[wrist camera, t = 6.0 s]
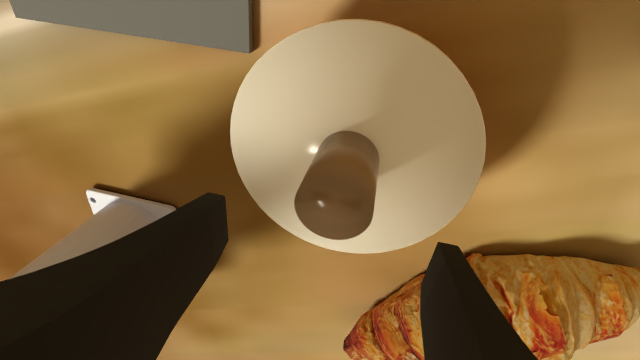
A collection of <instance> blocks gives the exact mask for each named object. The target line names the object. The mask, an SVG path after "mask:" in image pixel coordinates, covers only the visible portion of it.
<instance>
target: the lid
mask: <svg viewBox="0 0 640 360" xmlns="http://www.w3.org/2000/svg"><path fill="white" fill-rule="evenodd" d="M230 138H231V148H232V153H233V158H234V162H235V164H236V167H237V170H238V173H239V175H240V177H241V179H242V182H243V184H244V186H245V187H246V189H247V190H248V192H249V194H250V195H251V197H252V198H253V199H254V201H255V202H256V203H257V204H258V206H259V207H260V208H261V209H262V210H263V211H264V212H265V213H266V214H267V215H268V216H269V217H270V218H271V219H272V220H274V221H275V222H276V223H277V224H278V225H280V226H281V227H283V228H284V229H286V230H287V231H288V232H290V233H292V234H293V235H295V236H297V237H299V238H301V239H303V240H305V241H307V242H310V243H312V244H314V245H318V246H321V247H324V248H327V249H331V250H336V251H340V252H349V253H367V254H368V253H381V252H387V251H393V250H397V249H401V248H404V247H408V246H410V245H413V244H415V243H418V242H420V241H422V240H424V239H426V238H428V237H430V236H431V235H433V234H435V233H436V232H438V231H439V230H441V229H442V228H443V227H445V226H446V225H447V224H448V223H449V222H450V221H451V220H453V219H454V218H455V217H456V216H457V215H458V214H459V212H460V211H461V210H462V209H463V207H464V206H465V205H466V204H467V202H468V201H469V199H470V197H471V196H472V194H473V192H474V191H475V188H476V186H477V184H478V181H479V179H480V177H481V173H482V169H483V165H484V161H485V152H486V133H485V124H484V120H483V116H482V111H481V108H480V106H479V103H478V101H477V98H476V96H475V93H474V92H473V90H472V88H471V87H470V85H469V83H468V82H467V80H466V78H465V77H464V75H463V74H462V72H461V71H460V70H459V69H458V68H457V66H456V65H455V64H454V63H453V62H452V60H451V59H450V58H449V57H448V56H447V55H446V54H444V53H443V52H442V51H441V50H440V49H439V48H438V47H436V46H435V45H434V44H432V43H431V42H429V41H428V40H426V39H425V38H423V37H421V36H420V35H418V34H416V33H414V32H412V31H409V30H407V29H405V28H402V27H400V26H397V25H393V24H390V23H386V22H382V21H376V20H368V19H340V20H334V21H328V22H323V23H320V24H317V25H314V26H311V27H308V28H305V29H303V30H300V31H298V32H296V33H295V34H293V35H291V36H289V37H287V38H285V39H283V40H282V41H280V42H279V43H277V44H276V45H275V46H273V47H272V48H270V49H269V50H268V51H267V52H266V53H265V54H264V55H263V56H262V57H261V58H260V59H259V60H258V61H257V62H256V63H255V64H254V66H253V67H252V68H251V70H250V71H249V72H248V74H247V75H246V77H245V79H244V81H243V82H242V84H241V86H240V88H239V91H238V93H237V96H236V99H235V101H234V105H233V110H232V115H231V125H230Z"/></svg>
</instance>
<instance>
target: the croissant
mask: <svg viewBox="0 0 640 360" xmlns="http://www.w3.org/2000/svg"><path fill="white" fill-rule="evenodd" d="M466 259H467V261H468V262H469V264H470V266H471V267H472V269H473V270H474V272H475V273H476V275H477V277H478V278H479V280H480V281H481V283H482V284H483V286H484V287H485V289H486V290H487V292H488V293H489V295H490V296H491V298H492V299H493V301H494V302H495V304H496V305H497V306H498V308H499V309H500V311H501V312H502V314H503V315H504V316H505V318H506V319H507V321H508V322H509V323H510V324H511V326H512V327H513V328H514V330H515V331H516V332H517V334H518V335H519V336H520V338H521V339H522V340H523V342H524V343H525V344H526V345H527V347H528V348H529V349H530V350H531V351H532V353H533V354H534V355H535V356H536V358H537V359H538V360H570V359H571V358H572V356H573V354H574V351H576V350H577V349H583V348H585V347H586V346H587V345H588V344H590V343H594V342H598V341H602V340H606V339H609V338H614V337H618V336H620V335H621V334H622V332H623V331H624V330H626V329H628V328H629V327H630V326H631V325H632V324H633V323H634V322H636V321H637V319H638V318H639V316H640V268H638V267H633V268H630V267H626V266H623V265H618V264H613V265H612V264H607V263H603V262H598V261H594V260H590V259H585V258H579V257H567V256H561V257H550V256H544V255H543V256H535V255H531V254H521V255H502V256H501V255H488V256H484V257H483V256H482V255H481V254H480V253H473V254H471V255H470V256H468V257H467V258H466ZM424 275H425V274H422V275H420V276H418V277H415V278H414V279H413V280H411V281H409V282H408V283H406V284H405V285H404V286H403V287H402V288H401V289H400V290H399V291H398V292H396V293H394V294H392V295H391V296H390V297H389V298H387V299H386V300H385V301H383V302H382V303H380V304H379V305H377V306H376V307H375V308H373V309H371V310H369V311H367V312H366V313H365V314H363V315H362V316H361V317H360V319H359V320H358V322H357V323H356V325H355V326H354V328H353V329H352V331H351V332H350V334H349V335H348V336H347V337H346V338H345V340H344V344H343V348H344V351H345V352H346V353H347V354H348V355H349V356H350V358H351V359H354V360H361V359H363V358H367V359H369V360H425V359H424V349H423V340H422V330H421V319H420V292H421V283H422V280H423V278H424Z"/></svg>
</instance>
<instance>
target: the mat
mask: <svg viewBox="0 0 640 360" xmlns="http://www.w3.org/2000/svg"><path fill="white" fill-rule="evenodd" d="M10 3H11V6H12V8H13V11H14V14H15V16H16V18H23V19H29V20H36V21H42V22H49V23H55V24H62V25H68V26H75V27H81V28H88V29H94V30H101V31H107V32H114V33H120V34H127V35H133V36H140V37H146V38H153V39H159V40H166V41H172V42H179V43H185V44H192V45H198V46H205V47H211V48H218V49H224V50H231V51H237V52H244V53H251V52H253V24H252V0H10Z"/></svg>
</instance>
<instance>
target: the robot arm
mask: <svg viewBox="0 0 640 360" xmlns="http://www.w3.org/2000/svg"><path fill="white" fill-rule="evenodd" d="M86 195H87V197H88V200H89V203H90V206H91V208H92V211H93V214H94V215H93V216H92V217H90V218H89V219H88V220H86V221H85V222H84V223H82V224H81V225H80V226H78V227H77V228H76V229H74V230H73V231H72V232H70V233H69V234H68V235H66V236H65V237H64V238H62V239H61V240H60V241H58V242H57V243H56V244H54V245H53V246H52V247H50V248H49V249H48V250H46V251H45V252H44V253H42V254H41V255H40V256H38V257H37V258H36V259H35V260H33V261H32V262H31V263H29V264H28V265H27V266H25V267H24V268H23V269H21V270H20V271H19V272H17V273H16V274H15V275H13V276H12V277H11V278H9V279H8V280H4V281H1V282H0V360H156V359H157V357H158V355H159V353H160V351H161V350H162V348H163V346H164V344H165V342H166V340H167V339H168V337H169V335H170V333H171V332H172V330H173V328H174V327H175V325H176V324H177V322H178V320H179V319H180V318H181V316H182V315H183V313H184V312H185V310H186V309H187V307H188V306H189V304H190V303H191V301H192V300H193V298H194V297H195V295H196V294H197V293H198V291H199V290H200V288H201V287H202V285H203V284H204V282H205V281H206V279H207V278H208V276H209V275H210V273H211V272H212V270H213V269H214V267H215V266H216V264H217V262H218V260H219V258H220V256H221V254H222V252H223V250H224V248H225V246H226V244H227V242H228V228H227V215H226V202H225V196H223V195H218V194H213V193H207V194H205V195H202V196H201V197H199V198H197V199H195V200H193V201H191V202H189V203H188V204H186V205H184V206H182V207H180V208H178V209H177V210H176V208H175V207H173V206H171V205H167V204H162V203H158V202H153V201H149V200H144V199H140V198H135V197H131V196H127V195H122V194H118V193H113V192H109V191H104V190H100V189H95V188H90V189H88V190H87V191H86ZM420 319H421V330H422V340H423V349H424V359H425V360H538V359H537V358H536V356H535V355H534V354H533V353H532V351H531V350H530V349H529V348H528V347H527V345H526V344H525V343H524V342H523V340H522V339H521V338H520V336H519V335H518V334H517V332H516V331H515V330H514V328H513V327H512V326H511V324H510V323H509V322H508V321H507V319H506V318H505V316H504V315H503V314H502V312H501V311H500V309H499V308H498V306H497V305H496V304H495V302H494V301H493V299H492V298H491V296H490V295H489V293H488V292H487V290H486V289H485V287H484V286H483V284H482V283H481V281H480V280H479V278H478V277H477V275H476V273H475V272H474V270H473V269H472V267H471V266H470V264H469V262H468V261H467V259H466V258H465V256H464V255H463V253H462V251H461V250H460V248H459V247H458V246H455V245H450V244H446V243H441V242H438V244H437V246H436V249H435V251H434V253H433V256H432V258H431V261H430V263H429V266H428V268H427V271H426V273H425V275H424V278H423V280H422V283H421V292H420Z"/></svg>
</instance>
